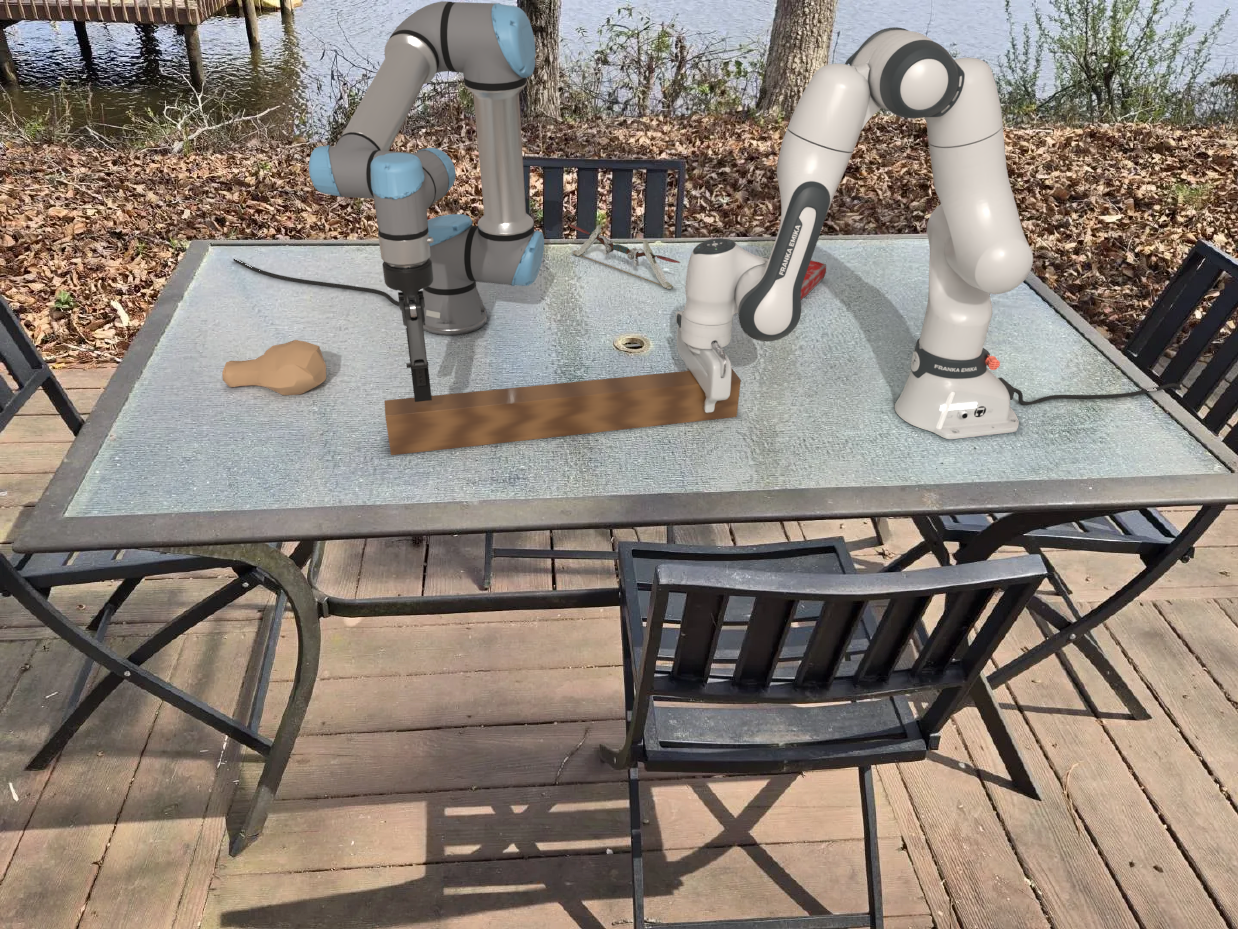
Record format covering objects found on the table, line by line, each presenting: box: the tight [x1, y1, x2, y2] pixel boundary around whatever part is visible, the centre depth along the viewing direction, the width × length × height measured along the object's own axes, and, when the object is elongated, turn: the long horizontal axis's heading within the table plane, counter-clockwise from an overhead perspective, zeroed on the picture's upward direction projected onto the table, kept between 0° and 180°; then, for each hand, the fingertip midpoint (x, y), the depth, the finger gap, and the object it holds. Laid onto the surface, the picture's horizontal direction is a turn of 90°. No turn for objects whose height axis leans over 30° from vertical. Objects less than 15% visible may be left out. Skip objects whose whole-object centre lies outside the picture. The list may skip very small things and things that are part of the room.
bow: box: [567, 223, 681, 290], centre depth 222 cm, size 39×2×10 cm, turn 47°
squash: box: [221, 339, 327, 396], centre depth 168 cm, size 11×20×9 cm, turn 90°
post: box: [383, 367, 742, 456], centre depth 158 cm, size 64×5×8 cm, turn 104°
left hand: (420, 380), depth 148 cm, fingers open, 13 cm apart
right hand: (699, 397), depth 164 cm, fingers open, 8 cm apart
